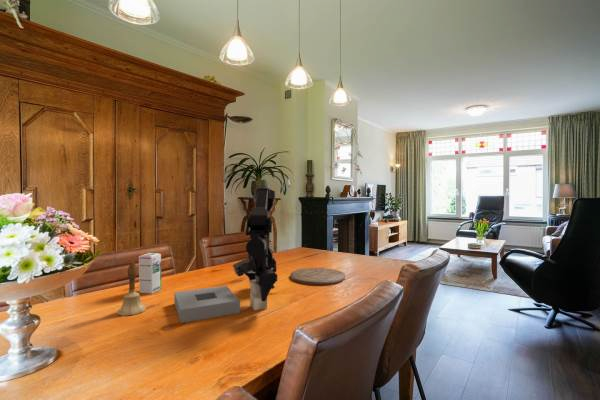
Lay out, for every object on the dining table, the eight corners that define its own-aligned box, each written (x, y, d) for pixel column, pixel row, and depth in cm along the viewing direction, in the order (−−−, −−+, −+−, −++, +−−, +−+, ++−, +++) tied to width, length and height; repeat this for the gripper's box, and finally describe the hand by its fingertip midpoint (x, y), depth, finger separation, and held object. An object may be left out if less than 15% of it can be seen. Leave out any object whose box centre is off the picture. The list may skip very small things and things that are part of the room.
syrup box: (152, 293, 119) (152, 255, 119) (138, 292, 120) (138, 255, 120) (161, 289, 125) (161, 253, 124) (148, 288, 126) (148, 252, 125)
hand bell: (126, 306, 106) (126, 259, 106) (150, 306, 106) (150, 259, 106) (111, 315, 98) (110, 264, 98) (137, 316, 98) (137, 265, 97)
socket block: (226, 296, 117) (226, 285, 117) (240, 312, 101) (240, 300, 101) (174, 303, 109) (174, 292, 109) (180, 323, 93) (180, 309, 93)
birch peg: (262, 304, 109) (262, 278, 109) (267, 308, 105) (267, 281, 105) (250, 306, 107) (250, 280, 107) (254, 310, 103) (254, 283, 103)
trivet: (353, 276, 148) (353, 272, 148) (329, 289, 127) (329, 285, 127) (308, 269, 161) (308, 265, 161) (279, 280, 140) (279, 276, 140)
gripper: (228, 248, 110) (227, 292, 110) (243, 258, 93) (243, 310, 94) (258, 246, 115) (258, 288, 116) (278, 255, 99) (277, 304, 99)
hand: (258, 297), depth 106 cm, fingers open, 9 cm apart
